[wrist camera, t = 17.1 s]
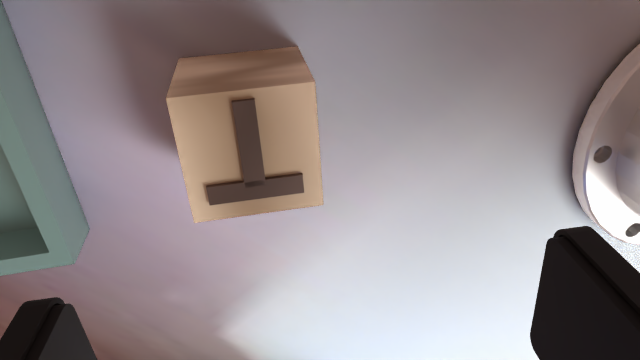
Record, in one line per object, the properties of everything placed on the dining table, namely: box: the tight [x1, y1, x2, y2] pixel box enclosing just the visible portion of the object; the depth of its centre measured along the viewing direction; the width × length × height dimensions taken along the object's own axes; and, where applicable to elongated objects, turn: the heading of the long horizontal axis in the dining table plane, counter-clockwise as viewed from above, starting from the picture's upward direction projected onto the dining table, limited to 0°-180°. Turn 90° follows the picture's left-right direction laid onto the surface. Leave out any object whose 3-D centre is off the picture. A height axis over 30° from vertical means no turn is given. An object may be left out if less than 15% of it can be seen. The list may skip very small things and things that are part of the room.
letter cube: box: [166, 46, 323, 223], centre depth 18 cm, size 4×4×5 cm
